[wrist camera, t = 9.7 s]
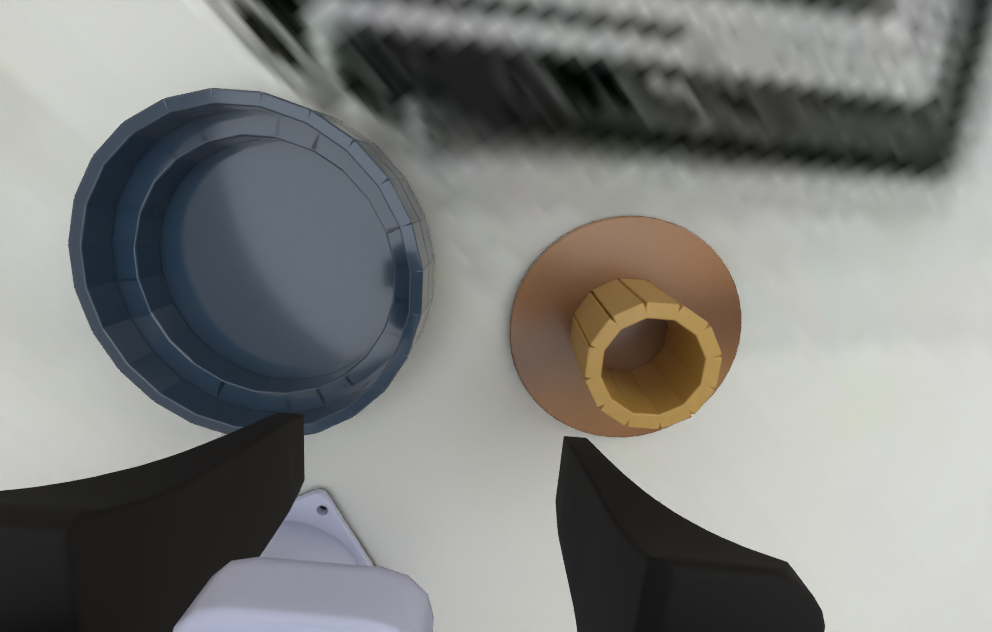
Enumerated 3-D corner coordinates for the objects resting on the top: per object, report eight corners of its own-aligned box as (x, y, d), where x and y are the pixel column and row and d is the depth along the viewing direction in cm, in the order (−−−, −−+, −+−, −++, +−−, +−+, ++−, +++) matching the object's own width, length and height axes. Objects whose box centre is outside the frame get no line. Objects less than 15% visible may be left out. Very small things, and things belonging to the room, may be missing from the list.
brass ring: (695, 356, 22) (739, 397, 18) (595, 398, 23) (616, 448, 19) (656, 260, 21) (693, 280, 17) (553, 307, 22) (564, 337, 18)
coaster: (767, 380, 23) (773, 384, 22) (564, 464, 24) (565, 469, 24) (689, 173, 21) (694, 173, 20) (471, 278, 22) (470, 280, 22)
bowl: (486, 332, 23) (482, 359, 19) (243, 444, 24) (200, 486, 21) (339, 43, 20) (304, 16, 16) (75, 193, 21) (-6, 195, 18)
